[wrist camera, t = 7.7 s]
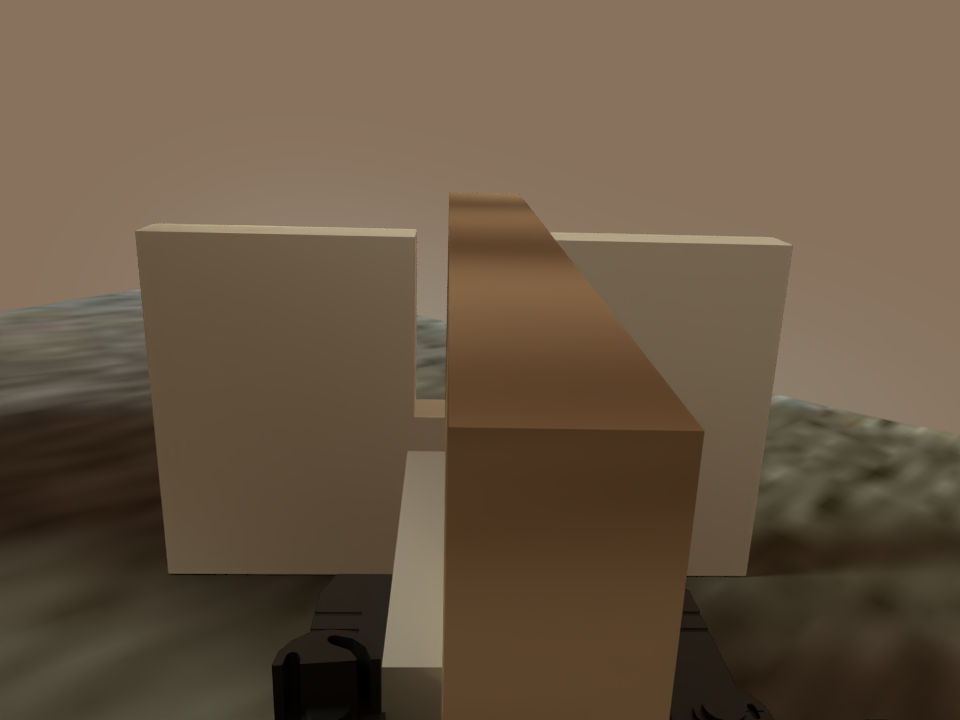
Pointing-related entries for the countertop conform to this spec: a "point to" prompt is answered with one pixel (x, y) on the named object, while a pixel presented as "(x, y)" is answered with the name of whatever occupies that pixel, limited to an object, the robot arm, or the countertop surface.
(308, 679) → the robot arm
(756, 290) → the cream board
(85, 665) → the countertop surface
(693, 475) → the brown angled piece
